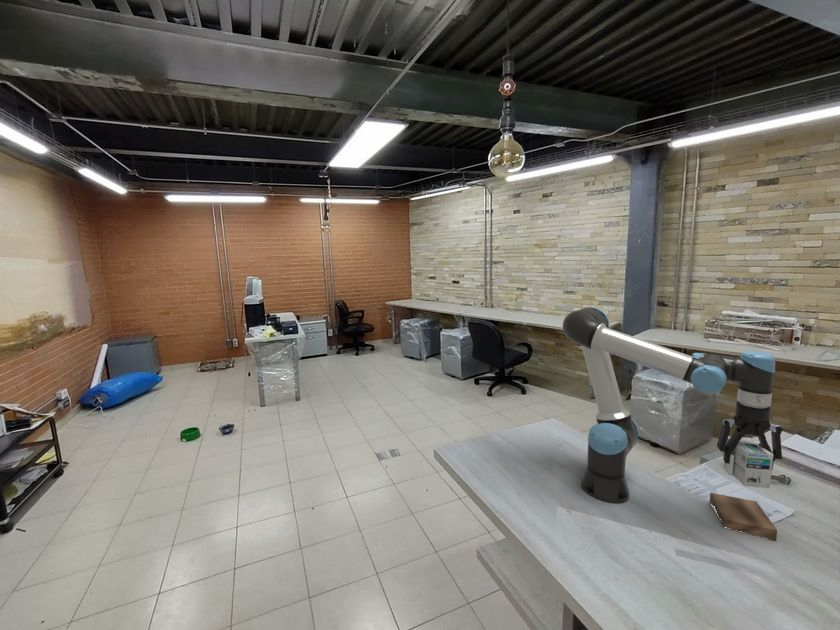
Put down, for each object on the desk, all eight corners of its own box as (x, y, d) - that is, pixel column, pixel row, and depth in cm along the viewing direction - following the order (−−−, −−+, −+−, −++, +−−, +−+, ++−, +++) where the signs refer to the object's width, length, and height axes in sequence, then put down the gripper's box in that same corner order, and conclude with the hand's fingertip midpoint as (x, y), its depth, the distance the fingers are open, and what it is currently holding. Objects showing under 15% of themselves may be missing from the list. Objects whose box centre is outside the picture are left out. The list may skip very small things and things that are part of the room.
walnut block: (723, 534, 111) (725, 519, 110) (709, 506, 124) (710, 492, 123) (775, 546, 106) (777, 530, 106) (754, 515, 119) (756, 501, 118)
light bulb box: (770, 489, 107) (775, 454, 105) (744, 486, 108) (747, 452, 107) (746, 469, 117) (750, 437, 116) (722, 467, 119) (725, 435, 117)
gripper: (715, 404, 110) (708, 475, 113) (805, 413, 102) (796, 489, 105) (707, 395, 117) (701, 463, 120) (791, 403, 109) (783, 475, 112)
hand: (745, 475), depth 113 cm, fingers closed on light bulb box, 7 cm apart
